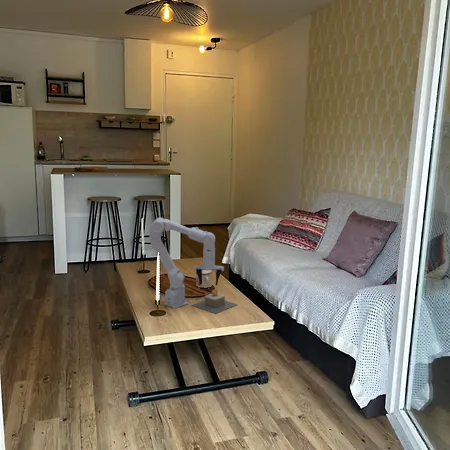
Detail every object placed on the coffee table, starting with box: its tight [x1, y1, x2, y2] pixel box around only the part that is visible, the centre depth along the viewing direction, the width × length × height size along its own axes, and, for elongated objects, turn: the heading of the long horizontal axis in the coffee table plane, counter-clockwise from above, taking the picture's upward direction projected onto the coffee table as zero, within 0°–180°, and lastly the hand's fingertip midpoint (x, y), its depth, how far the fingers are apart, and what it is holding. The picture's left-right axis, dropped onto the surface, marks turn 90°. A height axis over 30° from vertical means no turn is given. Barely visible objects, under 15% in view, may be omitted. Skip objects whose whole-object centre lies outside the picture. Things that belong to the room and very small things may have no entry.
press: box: [191, 292, 238, 315], centre depth 224 cm, size 16×16×5 cm
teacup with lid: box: [195, 270, 213, 288], centre depth 251 cm, size 12×9×12 cm
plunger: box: [211, 289, 219, 297], centre depth 224 cm, size 5×5×6 cm
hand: (208, 284), depth 224 cm, fingers open, 7 cm apart
